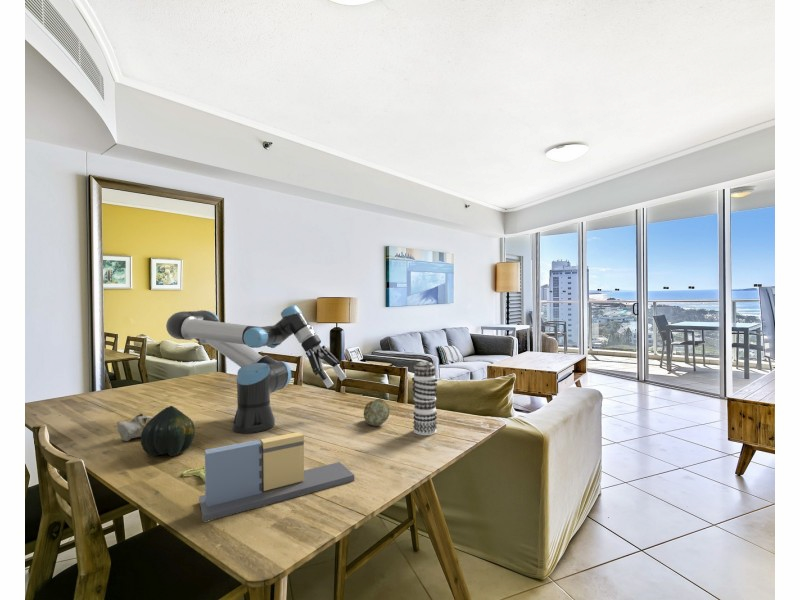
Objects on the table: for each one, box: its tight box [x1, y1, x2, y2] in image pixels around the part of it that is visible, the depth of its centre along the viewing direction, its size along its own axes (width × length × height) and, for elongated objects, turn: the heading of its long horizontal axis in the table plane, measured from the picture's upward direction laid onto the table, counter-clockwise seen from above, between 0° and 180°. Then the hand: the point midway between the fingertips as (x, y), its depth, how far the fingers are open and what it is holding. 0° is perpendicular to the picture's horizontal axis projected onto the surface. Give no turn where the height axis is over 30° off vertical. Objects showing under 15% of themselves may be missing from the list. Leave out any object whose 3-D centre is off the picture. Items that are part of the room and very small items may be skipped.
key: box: [181, 465, 205, 482], centre depth 108 cm, size 7×12×2 cm, turn 60°
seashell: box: [363, 398, 391, 426], centre depth 151 cm, size 11×11×10 cm
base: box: [198, 461, 355, 523], centre depth 98 cm, size 36×10×2 cm, turn 122°
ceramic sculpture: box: [116, 413, 154, 442], centre depth 138 cm, size 11×9×15 cm
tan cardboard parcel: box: [260, 431, 305, 491], centre depth 98 cm, size 10×3×12 cm, turn 122°
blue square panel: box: [204, 439, 262, 507], centre depth 92 cm, size 12×3×12 cm, turn 122°
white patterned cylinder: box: [411, 361, 438, 436], centre depth 141 cm, size 9×9×25 cm
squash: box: [140, 405, 196, 457], centre depth 124 cm, size 14×15×15 cm
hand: (337, 382), depth 155 cm, fingers open, 13 cm apart
